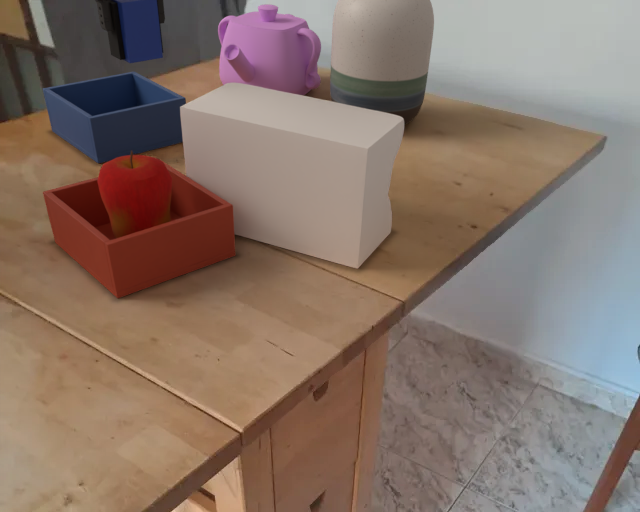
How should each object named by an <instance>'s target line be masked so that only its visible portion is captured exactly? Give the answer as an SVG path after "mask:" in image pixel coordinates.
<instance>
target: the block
mask: <svg viewBox="0 0 640 512" xmlns="http://www.w3.org/2000/svg"><path fill="white" fill-rule="evenodd" d="M112 1H114V2H116V3H118V10H119V17H120V24H121V31H122V38H123V45H124V52H125V59H124V60H123V61H124V62H126V63H128V64H135V63H140V62H147V61H153V60H157V59H163V58H164V55H163V54H164V53H162V45H163V44H162V45H161V35H162V34H161V35H160V26H161V25H160V26H159V17H158V8H157V0H112Z"/></svg>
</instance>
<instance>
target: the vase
mask: <svg viewBox="0 0 640 512" xmlns="http://www.w3.org/2000/svg"><path fill="white" fill-rule="evenodd" d="M434 29H435V13H434V8H433V4H432V1H431V0H337V2H336V4H335V9H334V11H333V17H332V27H331V51H330V76H329V77H330V78H329V92H330V101H332V102H337V103H341V104H346V105H351V106H356V107H361V108H366V109H370V110H375V111H380V112H385V113H390V114H394V115H398V116H401V117H402V118H403V119H404V126H405V125H407V124H409V123H412V121H413V120H415V119H416V117H417V116H418V114H419V113H420V112H421V109H422V106H423V103H424V101H425V94H426V88H427V82H428V76H429V67H430V62H431V61H430V60H431V52H432V46H433V45H432V44H433V38H434Z"/></svg>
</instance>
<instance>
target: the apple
mask: <svg viewBox="0 0 640 512" xmlns="http://www.w3.org/2000/svg"><path fill="white" fill-rule="evenodd" d="M164 163H165V161H163V160H162V159H160V158H157V157H154V156H151V155H144V154H134V155H133V152H132V150H131V155H127V156H121V157H117V158H115V159H113V160H111V161H107V162H103V163H102V165H101V167H100V169H99V173H98V176H97V177H98V180H97V182H98V186H99V191H100V195H101V198H102V201H103V203H104V205H105V208H106V210H107V212H108V215H109V218H110V222H111V226H112V231H113V234H114V237H115V238H116V239H117V238H120V237H123V236H126V235H129V234H132V233H136V232H139V231H142V230H145V229H148V228H151V227H155V226H158V225H161V224H164V223H167V222H170V221H171V218H170V203H171V193H172V177H171V175H170V173H169V171H168V169H167V168H166V166H165V164H164Z"/></svg>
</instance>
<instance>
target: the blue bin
mask: <svg viewBox="0 0 640 512" xmlns="http://www.w3.org/2000/svg"><path fill="white" fill-rule="evenodd" d="M42 92H43V97H44V102H45V106H46V110H47V114H48V119H49V125H50V129H51V131H52V133H54V134H55V135H56V136H58V137H60V138H61V139H63V140H64V141H65V142H66V143H68V144H69V145H71V146H72V147H74V148H76V149H77V151H80V152H81V153H82V154H84V155H85V156H87V157H88V158H90V159H91V160H92V161H93V162H95V163H97V164H104V163H106V162H108V161H111V160H113V159H115V158H117V157H121V156H127V155H131V150H132V152H133V155H139V154H141V153H146V152H149V151H150V152H151V151H155V150H157V149H161V148H166V147H169V146H170V147H171V146H173V145H177V144H181V143H182V144H183V138H182V127H181V116H180V107H181V106H183V105H185V104H187V97H185V96H183V95H181V94H179V93H177V92H175V91H173V90H171V89H169V88H168V87H165V86H163V85H161V84H159V83H158V82H156V81H153V80H152V79H149V78H148V77H145V76H144V75H142V74H140V73H138V72H136V71H129V72H124V73H119V74H114V75H108V76H103V77H96V78H91V79H86V80H81V81H75V82H70V83H65V84H60V85H54V86H49V87H48V86H47V87H43V88H42Z"/></svg>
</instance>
